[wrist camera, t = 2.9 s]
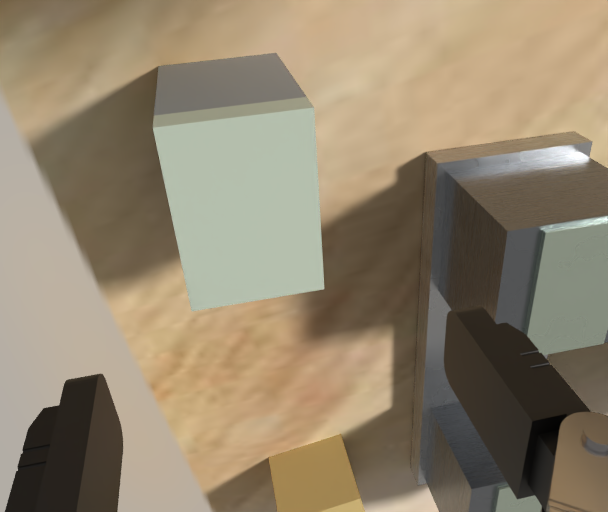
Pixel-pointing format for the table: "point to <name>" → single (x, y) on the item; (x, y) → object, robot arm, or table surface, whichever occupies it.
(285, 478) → the relay
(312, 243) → the block
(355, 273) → the table surface
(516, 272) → the rail
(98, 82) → the table surface
